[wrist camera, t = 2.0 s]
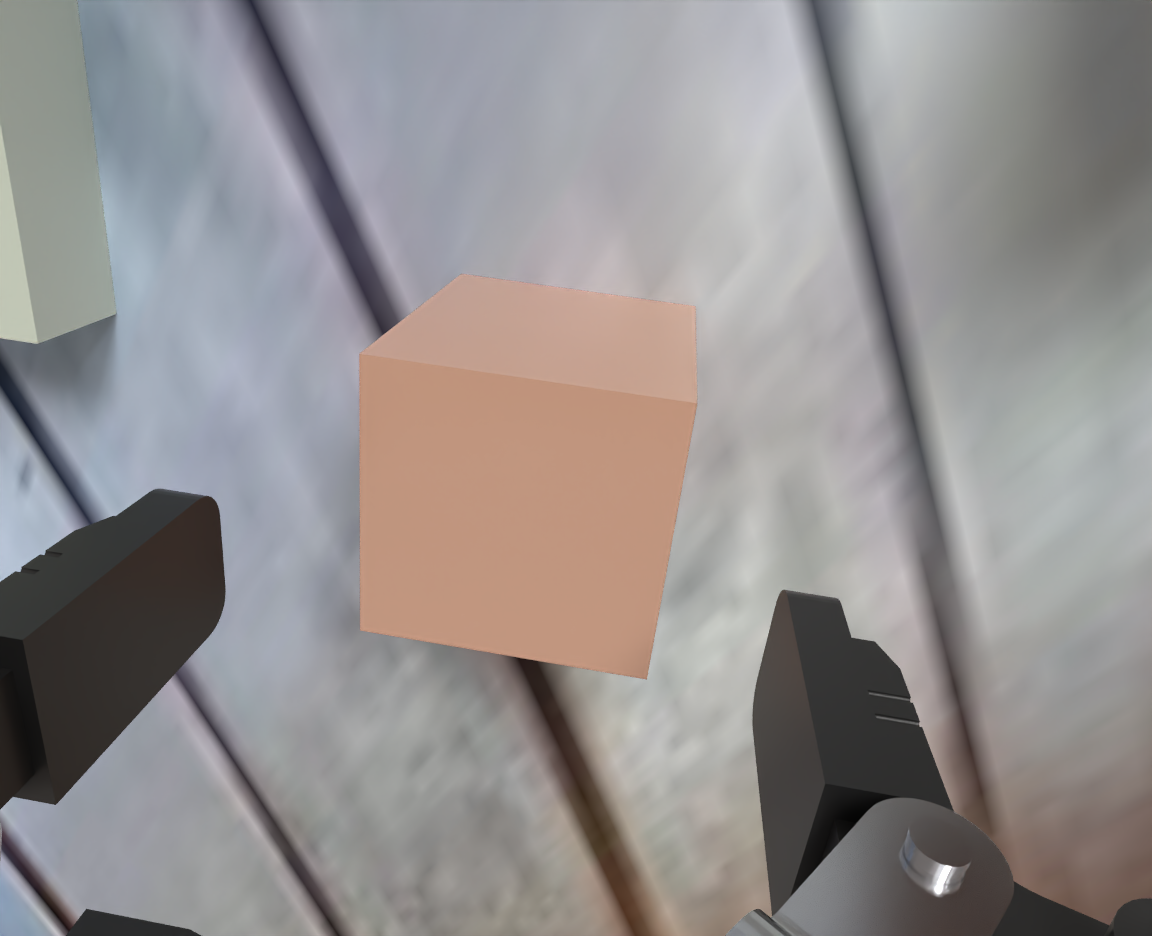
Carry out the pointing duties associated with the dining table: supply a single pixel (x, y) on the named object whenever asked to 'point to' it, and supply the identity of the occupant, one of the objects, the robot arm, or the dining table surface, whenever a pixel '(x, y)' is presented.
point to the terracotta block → (525, 471)
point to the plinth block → (48, 178)
